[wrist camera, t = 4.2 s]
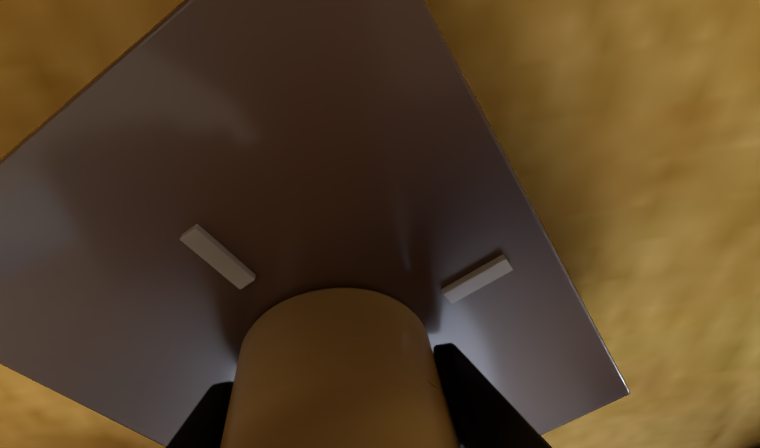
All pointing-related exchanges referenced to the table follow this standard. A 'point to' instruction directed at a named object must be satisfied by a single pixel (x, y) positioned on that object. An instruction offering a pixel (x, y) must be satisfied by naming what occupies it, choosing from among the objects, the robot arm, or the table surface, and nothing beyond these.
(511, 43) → the table surface
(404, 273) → the console
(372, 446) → the volume knob
